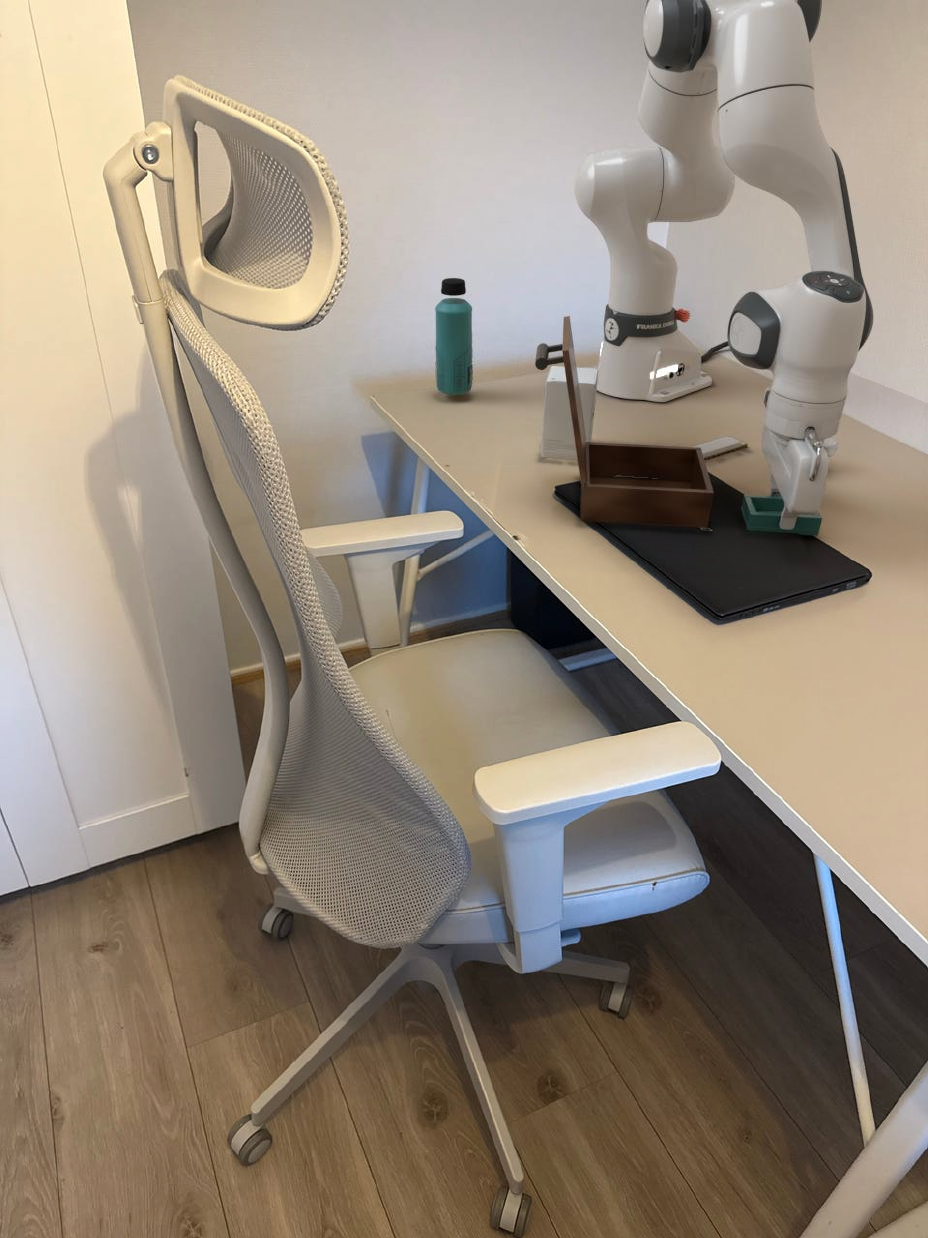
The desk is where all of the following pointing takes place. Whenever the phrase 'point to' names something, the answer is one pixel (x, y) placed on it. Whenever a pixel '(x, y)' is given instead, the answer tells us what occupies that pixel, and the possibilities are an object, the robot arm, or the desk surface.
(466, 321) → the beverage bottle
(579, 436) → the lid
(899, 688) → the desk surface
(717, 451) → the harmonica
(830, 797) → the desk surface
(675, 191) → the robot arm
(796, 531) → the dish
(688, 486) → the box
